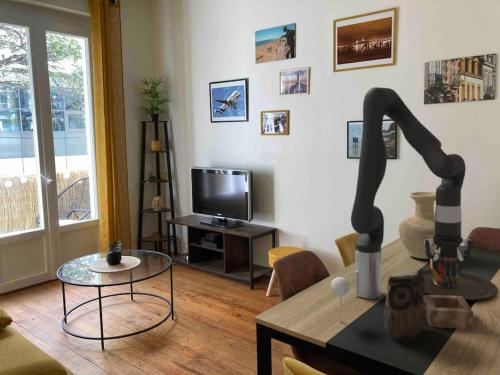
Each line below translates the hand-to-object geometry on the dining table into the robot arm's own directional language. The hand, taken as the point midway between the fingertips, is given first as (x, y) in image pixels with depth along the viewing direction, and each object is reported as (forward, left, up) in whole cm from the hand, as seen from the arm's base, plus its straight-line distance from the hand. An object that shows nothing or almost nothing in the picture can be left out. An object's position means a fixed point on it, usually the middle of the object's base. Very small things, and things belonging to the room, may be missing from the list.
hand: (447, 271), depth 131 cm
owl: (-15, -10, -16) cm, 24 cm away
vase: (+5, +66, -16) cm, 68 cm away
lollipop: (-33, -6, -16) cm, 37 cm away
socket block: (0, 0, -16) cm, 16 cm away
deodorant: (0, 0, -5) cm, 5 cm away
